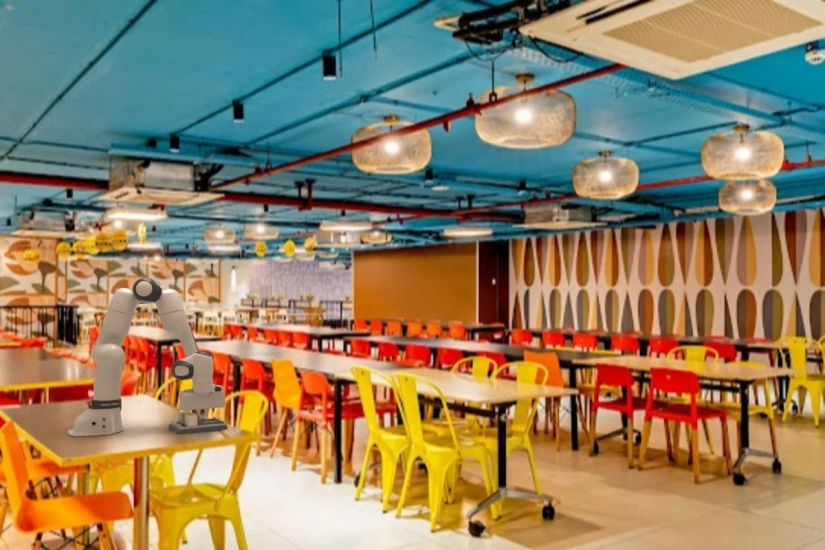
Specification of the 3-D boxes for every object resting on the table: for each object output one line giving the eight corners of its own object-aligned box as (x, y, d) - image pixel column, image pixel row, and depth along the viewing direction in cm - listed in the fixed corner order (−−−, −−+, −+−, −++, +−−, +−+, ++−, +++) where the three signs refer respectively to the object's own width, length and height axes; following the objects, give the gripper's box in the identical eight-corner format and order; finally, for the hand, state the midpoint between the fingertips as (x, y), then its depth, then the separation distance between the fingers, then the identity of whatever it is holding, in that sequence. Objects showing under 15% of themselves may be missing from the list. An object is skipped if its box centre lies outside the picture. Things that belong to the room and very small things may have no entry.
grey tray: (178, 434, 320) (178, 426, 320) (168, 428, 332) (168, 420, 333) (227, 429, 332) (227, 421, 332) (216, 424, 345) (216, 416, 345)
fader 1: (181, 424, 330) (181, 413, 330) (178, 422, 334) (178, 411, 334) (190, 423, 332) (190, 412, 332) (187, 422, 336) (187, 411, 336)
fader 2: (188, 427, 324) (188, 415, 324) (184, 425, 328) (185, 413, 328) (197, 426, 326) (197, 414, 326) (193, 424, 330) (194, 412, 330)
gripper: (181, 390, 321) (180, 422, 321) (226, 387, 333) (226, 418, 332) (177, 388, 327) (176, 420, 326) (222, 385, 338) (221, 415, 338)
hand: (202, 419), depth 330 cm, fingers closed
